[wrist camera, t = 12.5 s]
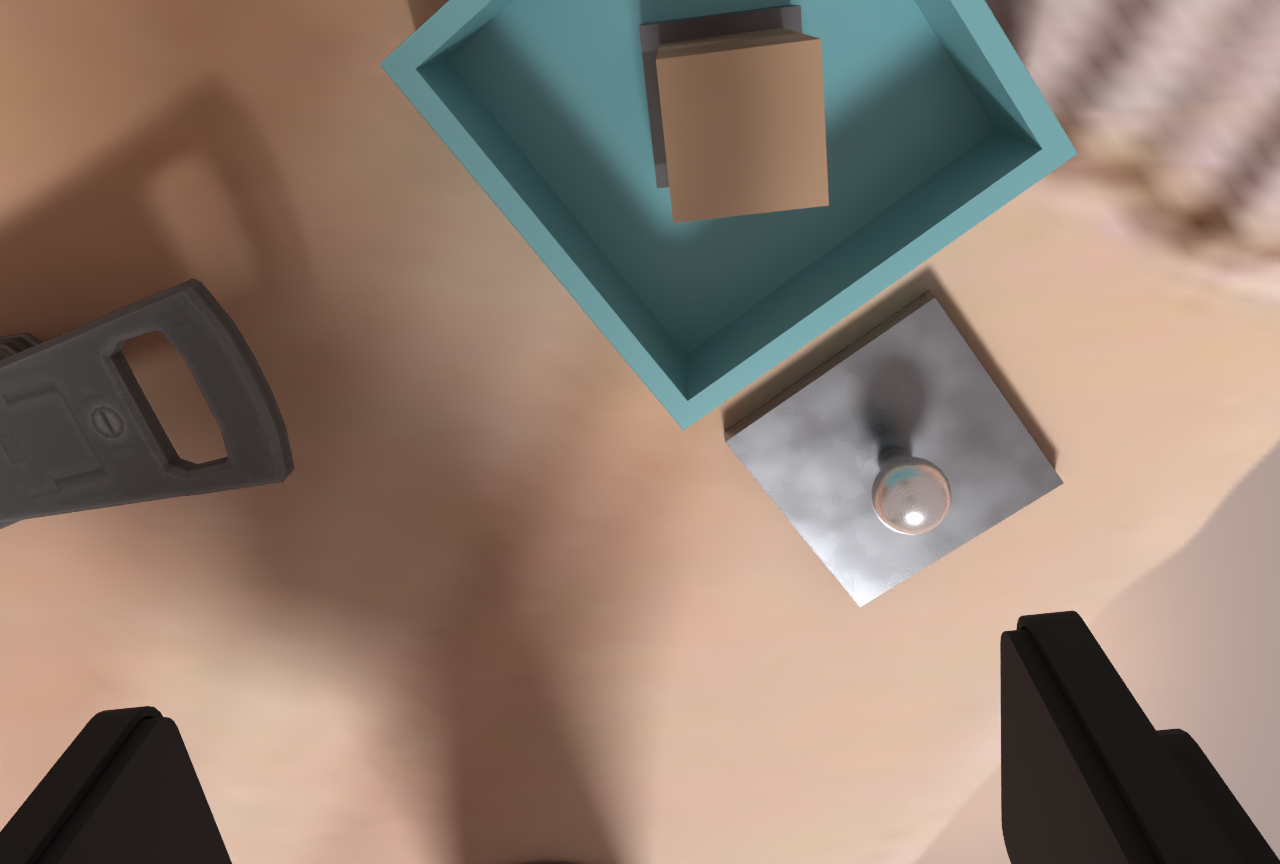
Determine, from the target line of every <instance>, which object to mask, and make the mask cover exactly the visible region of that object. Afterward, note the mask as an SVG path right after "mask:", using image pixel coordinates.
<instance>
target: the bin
mask: <svg viewBox="0 0 1280 864" xmlns="http://www.w3.org/2000/svg"><path fill="white" fill-rule="evenodd" d="M784 5H801V19H802V33H803V34H806V35H810V36H813V37H817V38H820V39H821V45H822V67H823V88H824V110H825V131H826V153H827V174H828V196H829V205H828V206H820V207H811V208H802V209H793V210H784V211H776V212H767V213H758V214H749V215H740V216H732V217H723V218H714V219H705V220H697V221H688V222H679V223H673V217H672V207H671V198H670V189H669V187H665V188H657V184H656V175H655V166H654V157H653V148H652V139H651V130H650V121H649V112H648V103H647V94H646V85H645V76H644V67H643V58H642V49H641V40H640V31H639V26H640V25H641V24H644V23H651V22H659V21H667V20H675V19H683V18H690V17H698V16H706V15H714V14H721V13H729V12H737V11H745V10H753V9H760V8H768V7H776V6H784ZM379 65H380V66H381V67H382V68H383V69H384V71H385V72H386V73H387V74H388V76H389V77H390V78H391V79H392V80H393V82H394V83H395V84H396V85H397V86H398V88H399V89H400V90H401V91H402V92H403V94H404V95H405V96H406V97H407V98H408V100H409V101H410V102H411V103H412V104H413V106H414V107H415V108H416V109H417V110H418V112H419V113H420V114H421V115H422V116H423V118H424V119H425V120H426V121H427V122H428V124H429V125H430V126H431V127H432V128H433V130H434V131H435V132H436V133H437V135H438V136H439V137H440V138H441V139H442V141H443V142H444V143H445V144H446V145H447V147H448V148H449V149H450V150H451V151H452V153H453V154H454V155H455V156H456V157H457V159H458V160H459V161H460V162H461V163H462V165H463V166H464V167H465V168H466V169H467V171H468V172H469V173H470V174H471V175H472V177H473V178H474V179H475V180H476V181H477V183H478V184H479V185H480V186H481V188H482V189H483V190H484V191H485V192H486V194H487V195H488V196H489V197H490V198H491V200H492V201H493V202H494V203H495V204H496V206H497V207H498V208H499V209H500V210H501V212H502V213H503V214H504V215H505V216H506V218H507V219H508V220H509V221H510V222H511V224H512V225H513V226H514V227H515V228H516V230H517V231H518V232H519V233H520V234H521V236H522V237H523V238H524V239H525V240H526V242H527V243H528V244H529V245H530V247H531V248H532V249H533V250H534V251H535V253H536V254H537V255H538V256H539V257H540V259H541V260H542V261H543V262H544V263H545V265H546V266H547V267H548V268H549V269H550V271H551V272H552V273H553V274H554V275H555V277H556V278H557V279H558V280H559V281H560V283H561V284H562V285H563V286H564V287H565V289H566V290H567V291H568V292H569V293H570V295H571V296H572V297H573V298H574V300H575V301H576V302H577V303H578V304H579V306H580V307H581V308H582V309H583V310H584V312H585V313H586V314H587V315H588V316H589V318H590V319H591V320H592V321H593V322H594V324H595V325H596V326H597V327H598V328H599V330H600V331H601V332H602V333H603V334H604V336H605V337H606V338H607V339H608V340H609V342H610V343H611V344H612V345H613V346H614V348H615V349H616V350H617V351H618V352H619V354H620V355H621V356H622V357H623V359H624V360H625V361H626V362H627V363H628V365H629V366H630V367H631V368H632V369H633V371H634V372H635V373H636V374H637V375H638V377H639V378H640V379H641V380H642V381H643V383H644V384H645V385H646V386H647V387H648V389H649V390H650V391H651V392H652V393H653V395H654V396H655V397H656V398H657V399H658V401H659V402H660V403H661V404H662V405H663V407H664V408H665V409H666V410H667V412H668V413H669V414H670V415H671V416H672V418H673V419H674V420H675V421H676V422H677V424H678V425H679V426H680V427H681V428H682V430H685V429H686V428H688V427H689V426H691V425H692V424H693V423H695V422H696V421H698V420H699V419H700V418H702V417H703V416H705V415H706V414H708V413H709V412H710V411H712V410H713V409H715V408H716V407H718V406H719V405H720V404H722V403H723V402H725V401H726V400H728V399H729V398H730V397H732V396H733V395H735V394H736V393H737V392H739V391H740V390H742V389H743V388H745V387H746V386H747V385H749V384H750V383H752V382H753V381H755V380H756V379H757V378H759V377H760V376H762V375H763V374H765V373H766V372H767V371H769V370H770V369H772V368H773V367H774V366H776V365H777V364H779V363H780V362H782V361H783V360H784V359H786V358H787V357H789V356H790V355H792V354H793V353H794V352H796V351H797V350H799V349H800V348H802V347H803V346H804V345H806V344H807V343H809V342H810V341H811V340H813V339H814V338H816V337H817V336H819V335H820V334H821V333H823V332H824V331H826V330H827V329H829V328H830V327H831V326H833V325H834V324H836V323H837V322H839V321H840V320H841V319H843V318H844V317H846V316H847V315H848V314H850V313H851V312H853V311H854V310H856V309H857V308H858V307H860V306H861V305H863V304H864V303H866V302H867V301H868V300H870V299H871V298H873V297H874V296H876V295H877V294H878V293H880V292H881V291H883V290H884V289H886V288H887V287H888V286H890V285H891V284H893V283H894V282H895V281H897V280H898V279H900V278H901V277H903V276H904V275H905V274H907V273H908V272H910V271H911V270H913V269H914V268H915V267H917V266H918V265H920V264H921V263H923V262H924V261H925V260H927V259H928V258H930V257H931V256H932V255H934V254H935V253H937V252H938V251H940V250H941V249H942V248H944V247H945V246H947V245H948V244H950V243H951V242H952V241H954V240H955V239H957V238H958V237H960V236H961V235H962V234H964V233H965V232H967V231H968V230H969V229H971V228H972V227H974V226H975V225H977V224H978V223H979V222H981V221H982V220H984V219H985V218H987V217H988V216H989V215H991V214H992V213H994V212H995V211H997V210H998V209H999V208H1001V207H1002V206H1004V205H1005V204H1006V203H1008V202H1009V201H1011V200H1012V199H1014V198H1015V197H1016V196H1018V195H1019V194H1021V193H1022V192H1024V191H1025V190H1026V189H1028V188H1029V187H1031V186H1032V185H1034V184H1035V183H1036V182H1038V181H1039V180H1041V179H1042V178H1043V177H1045V176H1046V175H1048V174H1049V173H1051V172H1052V171H1053V170H1055V169H1056V168H1058V167H1059V166H1061V165H1062V164H1063V163H1065V162H1066V161H1068V160H1069V159H1071V158H1072V157H1073V156H1075V155H1076V154H1078V153H1077V152H1076V150H1075V148H1074V147H1073V145H1072V143H1071V142H1070V140H1069V138H1068V137H1067V135H1066V133H1065V132H1064V130H1063V129H1062V127H1061V125H1060V124H1059V122H1058V120H1057V119H1056V117H1055V115H1054V114H1053V112H1052V110H1051V109H1050V107H1049V105H1048V104H1047V102H1046V100H1045V99H1044V97H1043V96H1042V94H1041V92H1040V91H1039V89H1038V87H1037V86H1036V84H1035V82H1034V81H1033V79H1032V77H1031V76H1030V74H1029V72H1028V71H1027V69H1026V68H1025V66H1024V64H1023V63H1022V61H1021V59H1020V58H1019V56H1018V54H1017V53H1016V51H1015V49H1014V48H1013V46H1012V44H1011V43H1010V41H1009V40H1008V38H1007V36H1006V35H1005V33H1004V31H1003V30H1002V28H1001V26H1000V25H999V23H998V21H997V20H996V18H995V16H994V15H993V13H992V11H991V10H990V8H989V7H988V5H987V3H986V2H985V0H449V1H448V2H447V3H446V4H445V5H444V6H442V7H441V8H440V9H439V10H438V11H437V12H436V13H435V14H434V15H433V16H431V17H430V18H429V19H428V20H427V21H426V22H425V23H424V24H423V25H422V26H421V27H419V28H418V29H417V30H416V31H415V32H414V33H413V34H412V35H411V36H410V37H408V38H407V39H406V40H405V41H404V42H403V43H402V44H401V45H400V46H399V47H398V48H396V49H395V50H394V51H393V52H392V53H391V54H390V55H389V56H388V57H387V58H385V59H384V60H383V61H382V62H381V63H380V64H379Z"/></svg>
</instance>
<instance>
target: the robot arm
mask: <svg viewBox="0 0 1280 864" xmlns="http://www.w3.org/2000/svg"><path fill="white" fill-rule="evenodd" d="M1000 645H1001V806H1002V809H1001V810H1002V830H1003V836H1004V841H1005V845H1006V849H1007V853H1008V856H1009V859H1010V861H1011V864H1280V860H1279V859H1278V857H1277V856H1276V855H1275V853H1274V852H1273V851H1272V849H1271V848H1270V846H1269V845H1268V843H1267V842H1266V840H1265V839H1264V838H1263V836H1262V835H1261V833H1260V832H1259V831H1258V829H1257V828H1256V826H1255V825H1254V823H1253V822H1252V821H1251V819H1250V818H1249V816H1248V815H1247V814H1246V812H1245V811H1244V809H1243V808H1242V806H1241V805H1240V804H1239V803H1238V801H1237V800H1236V798H1235V796H1234V795H1233V794H1232V792H1231V791H1230V790H1229V788H1228V786H1227V785H1226V784H1225V783H1224V781H1223V779H1222V778H1221V777H1220V775H1219V774H1218V772H1217V771H1216V769H1215V768H1214V767H1213V765H1212V764H1211V763H1210V761H1209V760H1208V758H1207V757H1206V755H1205V754H1204V753H1203V751H1202V750H1201V748H1200V747H1199V745H1198V744H1197V743H1196V742H1195V741H1194V739H1193V738H1192V737H1191V736H1190V735H1189V734H1188V733H1187V732H1185V731H1183V730H1181V729H1169V730H1158V731H1156V730H1155V729H1154V727H1153V725H1152V724H1151V722H1150V721H1149V719H1148V718H1147V716H1146V715H1145V713H1144V712H1143V710H1142V709H1141V707H1140V706H1139V704H1138V703H1137V701H1136V700H1135V698H1134V697H1133V695H1132V694H1131V692H1130V691H1129V689H1128V688H1127V686H1126V685H1125V683H1124V682H1123V680H1122V679H1121V677H1120V676H1119V674H1118V673H1117V671H1116V670H1115V668H1114V666H1113V665H1112V663H1111V662H1110V661H1109V659H1108V657H1107V656H1106V654H1105V653H1104V651H1103V650H1102V648H1101V647H1100V645H1099V644H1098V642H1097V641H1096V639H1095V638H1094V636H1093V635H1092V633H1091V632H1090V630H1089V629H1088V627H1087V626H1086V624H1085V622H1084V621H1083V619H1082V618H1081V617H1080V616H1079V614H1078V613H1077V612H1075V611H1065V612H1055V613H1045V614H1035V615H1026V616H1021V617H1020V618H1019V620H1018V623H1017V630H1014V631H1004V632H1003V633H1002V635H1001V644H1000ZM0 864H232V862H231V860H230V857H229V855H228V852H227V850H226V847H225V845H224V842H223V840H222V837H221V835H220V832H219V830H218V827H217V825H216V822H215V820H214V817H213V815H212V812H211V810H210V807H209V805H208V802H207V800H206V797H205V795H204V792H203V790H202V787H201V785H200V782H199V780H198V777H197V775H196V772H195V770H194V767H193V765H192V762H191V760H190V757H189V755H188V752H187V750H186V747H185V745H184V742H183V740H182V737H181V735H180V732H179V730H178V727H177V725H176V724H175V722H174V721H173V720H172V719H171V718H167V717H163V716H162V714H161V712H160V711H158V710H157V709H156V708H155V707H150V706H145V707H135V708H125V709H116V710H106V711H102V712H99V713H97V714H96V715H95V716H94V717H93V718H92V719H91V720H90V721H89V722H88V723H87V725H86V726H85V727H84V728H83V730H82V731H81V732H80V733H79V735H78V736H77V737H76V738H75V740H74V741H73V742H72V743H71V745H70V746H69V747H68V748H67V750H66V751H65V752H64V753H63V754H62V756H61V757H60V758H59V759H58V761H57V762H56V763H55V764H54V766H53V767H52V768H51V769H50V771H49V772H48V773H47V774H46V776H45V777H44V778H43V779H42V781H41V782H40V783H39V784H38V786H37V787H36V788H35V789H34V791H33V792H32V793H31V794H30V796H29V797H28V798H27V799H26V801H25V802H24V803H23V804H22V806H21V807H20V808H19V809H18V811H17V812H16V813H15V814H14V816H13V817H12V818H11V819H10V821H9V822H8V823H7V824H6V826H5V827H4V828H3V829H2V831H1V832H0Z"/></svg>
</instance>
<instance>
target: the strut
mask: <svg viewBox="0 0 1280 864" xmlns="http://www.w3.org/2000/svg"><path fill="white" fill-rule="evenodd" d="M639 31H640V40H641V49H642V58H643V67H644V76H645V85H646V94H647V103H648V112H649V121H650V130H651V139H652V148H653V157H654V166H655V175H656V184H657V188H665V187H669V189H670V198H671V207H672V217H673V223H679V222H688V221H697V220H705V219H714V218H723V217H732V216H740V215H749V214H758V213H767V212H776V211H784V210H793V209H802V208H811V207H820V206H828V205H829V196H828V174H827V153H826V131H825V110H824V88H823V67H822V45H821V39H820V38H817V37H813V36H810V35H806V34H803V33H802V19H801V5H784V6H776V7H768V8H760V9H753V10H745V11H737V12H729V13H721V14H714V15H706V16H698V17H690V18H683V19H675V20H667V21H659V22H651V23H644V24H641V25H640V26H639Z"/></svg>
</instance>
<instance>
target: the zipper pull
mask: <svg viewBox="0 0 1280 864" xmlns="http://www.w3.org/2000/svg"><path fill="white" fill-rule="evenodd" d="M153 331H157V332H160V333H162V334H164V335H165V336H166V337H167V339H168V340H169V341H170V342H171V344H172V345H173V346H174V347H175V349H176V350H177V351H178V352H179V354H180V355H181V356H182V357H183V359H184V360H185V361H186V363H187V365H188V367H189V369H190V371H191V373H192V375H193V376H194V378H195V380H196V382H197V384H198V386H199V388H200V390H201V392H202V394H203V396H204V398H205V399H206V401H207V403H208V405H209V407H210V409H211V411H212V413H213V415H214V417H215V419H216V421H217V423H218V424H219V426H220V428H221V432H222V435H223V439H224V443H225V447H226V450H227V454H228V457H226V458H222V459H218V460H214V461H210V462H205V463H201V464H195V463H192V462H189V461H186V460H183V459H181V458H180V457H179V456H178V454H177V452H176V451H175V449H174V447H173V445H172V444H171V442H170V440H169V439H168V437H167V435H166V433H165V431H164V430H163V428H162V426H161V424H160V422H159V420H158V419H157V417H156V415H155V413H154V411H153V409H152V408H151V406H150V404H149V402H148V400H147V398H146V397H145V395H144V393H143V391H142V389H141V387H140V385H139V384H138V382H137V380H136V378H135V376H134V374H133V373H132V371H131V369H130V367H129V365H128V363H127V361H126V359H125V357H124V355H123V353H122V351H121V349H122V347H123V345H124V343H125V341H126V339H129V338H133V337H136V336H139V335H143V334H146V333H149V332H153ZM293 470H294V465H293V460H292V455H291V450H290V445H289V440H288V435H287V431H286V426H285V424H284V421H283V419H282V416H281V414H280V411H279V408H278V406H277V403H276V401H275V398H274V395H273V393H272V391H271V389H270V387H269V385H268V383H267V381H266V378H265V376H264V374H263V372H262V370H261V368H260V366H259V364H258V362H257V360H256V358H255V356H254V355H253V353H252V351H251V350H250V348H249V346H248V345H247V343H246V341H245V340H244V338H243V336H242V335H241V333H240V331H239V330H238V328H237V326H236V325H235V323H234V322H233V320H232V319H231V318H230V317H229V315H228V314H227V313H226V312H225V310H224V309H223V308H222V307H221V306H220V304H219V303H218V302H217V301H216V299H215V298H214V297H213V296H212V294H211V293H210V292H209V291H208V290H207V288H206V287H205V286H204V285H203V283H202V282H200V281H197V280H194V279H191V280H189V281H186V282H184V283H182V284H179V285H177V286H174V287H172V288H170V289H167V290H165V291H162V292H160V293H157V294H155V295H153V296H150V297H148V298H145V299H143V300H140V301H138V302H136V303H133V304H131V305H128V306H126V307H123V308H121V309H119V310H116V311H114V312H112V313H110V314H108V315H106V316H104V317H102V318H100V319H97V320H95V321H93V322H91V323H88V324H86V325H83V326H81V327H79V328H76V329H74V330H71V331H69V332H67V333H64V334H62V335H60V336H57V337H55V338H52V339H50V340H48V341H45V342H43V343H41V342H40V341H39V340H37V339H36V338H35V337H33V336H32V335H30V334H28V333H21V334H14V335H9V336H4V337H0V529H2V528H4V527H7V526H9V525H11V524H14V523H16V522H18V521H20V520H23V519H30V518H37V517H44V516H50V515H57V514H64V513H71V512H77V511H84V510H91V509H98V508H105V507H111V506H118V505H125V504H132V503H138V502H145V501H152V500H159V499H165V498H172V497H179V496H189V495H198V494H206V493H212V492H219V491H225V490H232V489H238V488H245V487H251V486H258V485H264V484H271V483H277V482H283V481H284V480H285V479H286V478H287V477H288V476H289V475H290V474H291V473H292V471H293Z"/></svg>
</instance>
